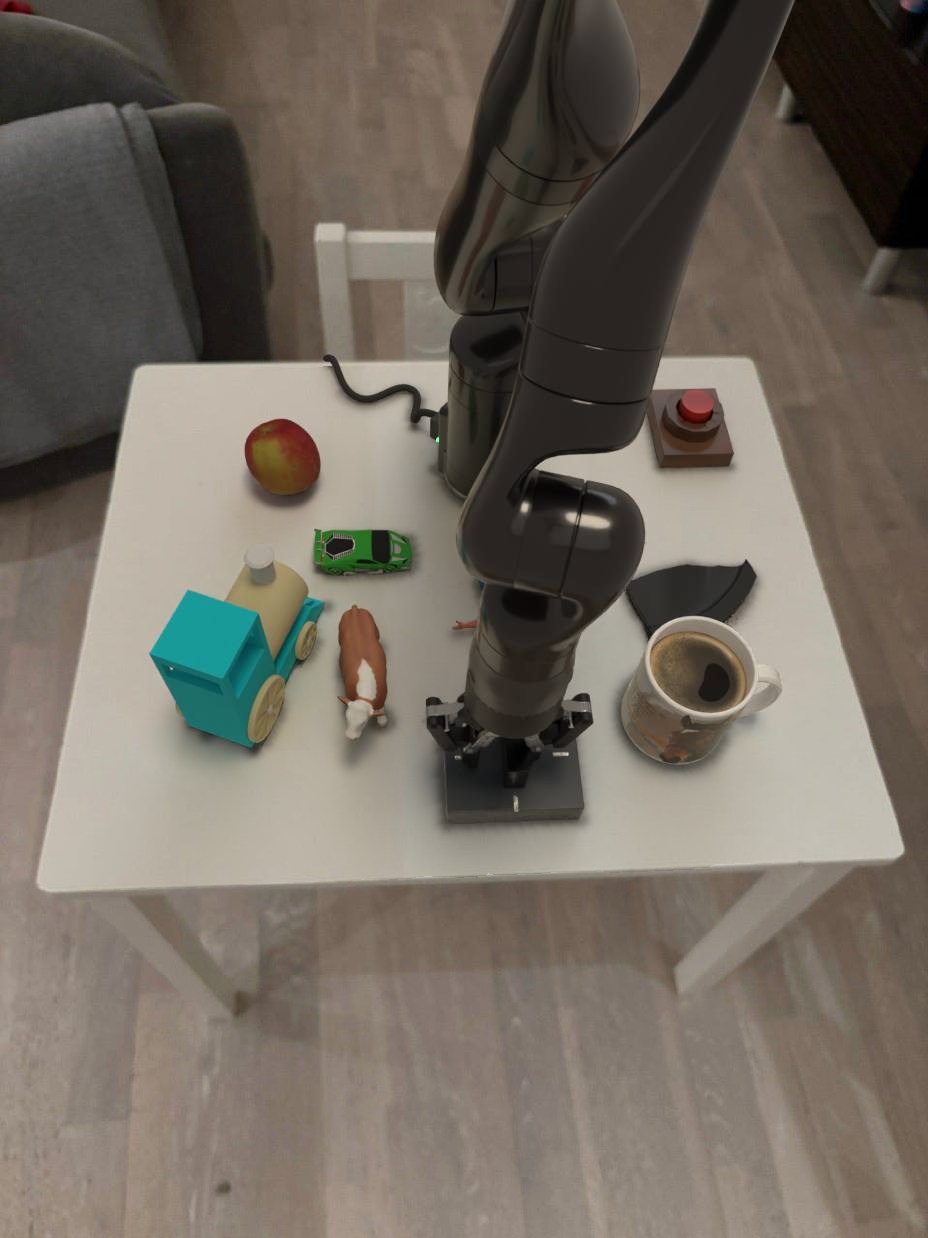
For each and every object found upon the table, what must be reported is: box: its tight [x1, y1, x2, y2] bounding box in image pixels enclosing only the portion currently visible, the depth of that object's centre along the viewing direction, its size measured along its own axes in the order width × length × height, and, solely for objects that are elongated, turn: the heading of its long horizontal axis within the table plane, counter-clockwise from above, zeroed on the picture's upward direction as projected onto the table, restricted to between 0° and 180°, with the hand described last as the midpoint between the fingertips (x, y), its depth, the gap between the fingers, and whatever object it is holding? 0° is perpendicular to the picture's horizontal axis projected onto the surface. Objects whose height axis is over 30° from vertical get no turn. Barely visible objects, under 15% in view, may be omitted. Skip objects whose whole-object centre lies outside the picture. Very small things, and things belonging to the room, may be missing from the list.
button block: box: [646, 387, 735, 469], centre depth 103 cm, size 10×8×4 cm
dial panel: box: [442, 718, 585, 824], centre depth 82 cm, size 12×10×3 cm
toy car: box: [312, 528, 413, 576], centre depth 94 cm, size 10×5×2 cm, turn 94°
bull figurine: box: [337, 604, 389, 741], centre depth 83 cm, size 4×13×8 cm, turn 5°
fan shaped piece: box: [626, 558, 758, 636], centre depth 93 cm, size 8×14×2 cm, turn 108°
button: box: [678, 390, 714, 424], centre depth 101 cm, size 4×4×2 cm
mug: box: [620, 616, 783, 766], centre depth 82 cm, size 10×12×11 cm
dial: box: [500, 736, 529, 788], centre depth 79 cm, size 6×2×4 cm, turn 3°
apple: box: [243, 418, 322, 496], centre depth 96 cm, size 8×8×8 cm
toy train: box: [148, 543, 325, 748], centre depth 81 cm, size 8×17×15 cm, turn 161°
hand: (498, 756), depth 81 cm, fingers open, 4 cm apart
